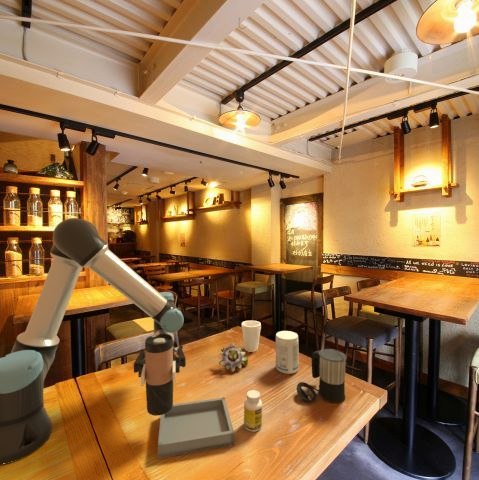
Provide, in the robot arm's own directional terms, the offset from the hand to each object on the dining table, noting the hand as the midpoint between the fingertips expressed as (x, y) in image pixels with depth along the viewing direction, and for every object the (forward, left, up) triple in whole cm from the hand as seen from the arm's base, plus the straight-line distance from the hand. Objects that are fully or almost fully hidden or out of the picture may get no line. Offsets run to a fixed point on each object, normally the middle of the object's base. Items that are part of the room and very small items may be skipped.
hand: (158, 378), depth 72 cm
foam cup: (+40, +52, -19) cm, 68 cm away
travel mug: (0, +5, -11) cm, 12 cm away
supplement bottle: (+27, +2, -19) cm, 33 cm away
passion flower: (+28, +38, -19) cm, 51 cm away
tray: (+10, +4, -19) cm, 22 cm away
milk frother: (+54, +11, -19) cm, 59 cm away
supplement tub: (+50, +31, -19) cm, 62 cm away
